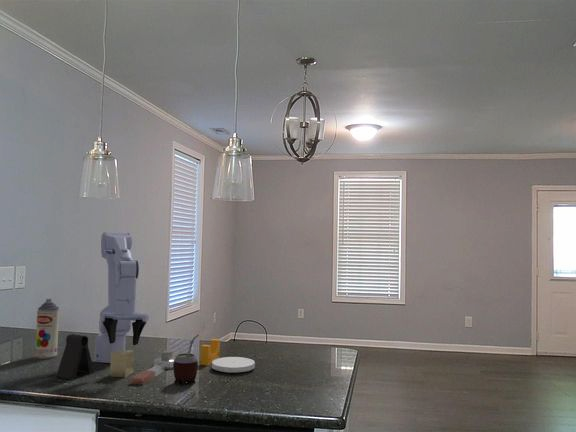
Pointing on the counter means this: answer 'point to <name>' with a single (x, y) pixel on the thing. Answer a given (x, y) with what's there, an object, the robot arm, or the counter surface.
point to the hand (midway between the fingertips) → (123, 343)
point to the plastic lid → (233, 364)
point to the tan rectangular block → (122, 363)
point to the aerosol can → (47, 331)
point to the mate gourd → (185, 366)
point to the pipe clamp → (210, 352)
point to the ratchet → (155, 368)
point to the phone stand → (75, 358)
